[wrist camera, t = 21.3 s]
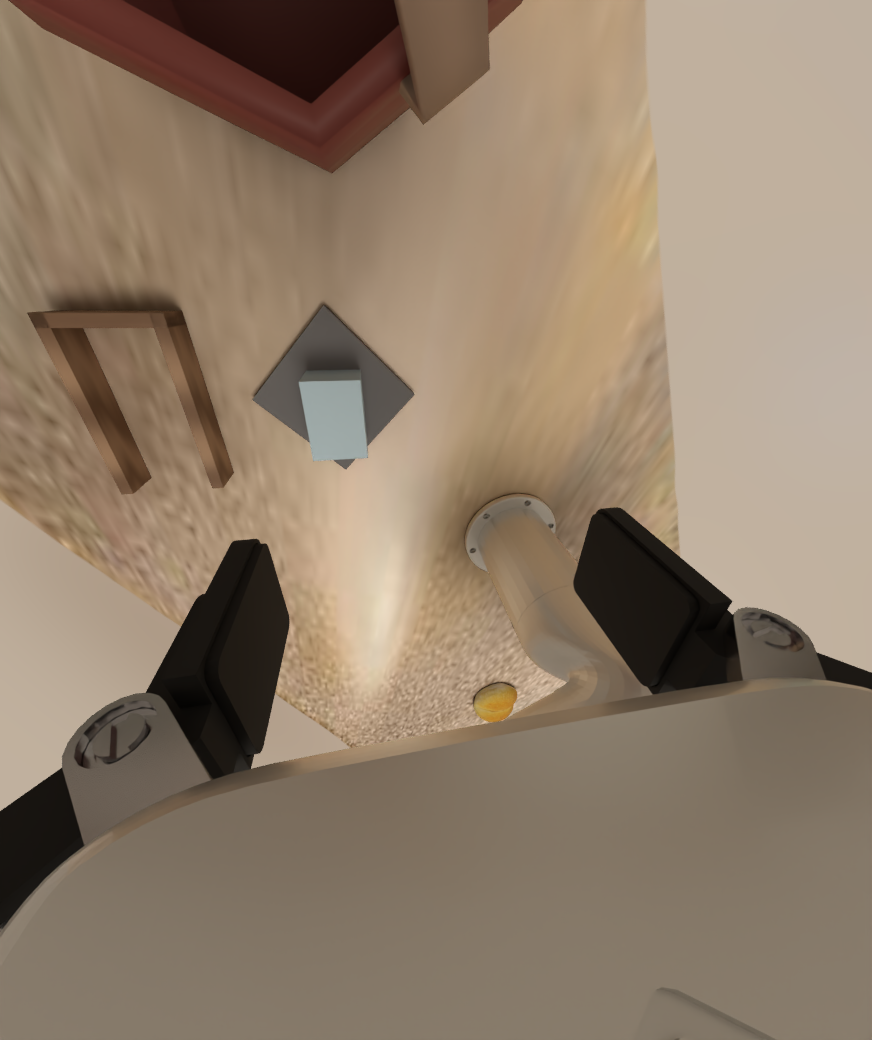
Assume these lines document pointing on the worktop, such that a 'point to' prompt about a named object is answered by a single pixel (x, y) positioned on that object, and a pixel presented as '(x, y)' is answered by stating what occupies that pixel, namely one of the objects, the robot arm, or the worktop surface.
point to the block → (334, 414)
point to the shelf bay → (98, 400)
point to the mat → (332, 350)
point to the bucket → (292, 59)
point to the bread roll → (495, 702)
